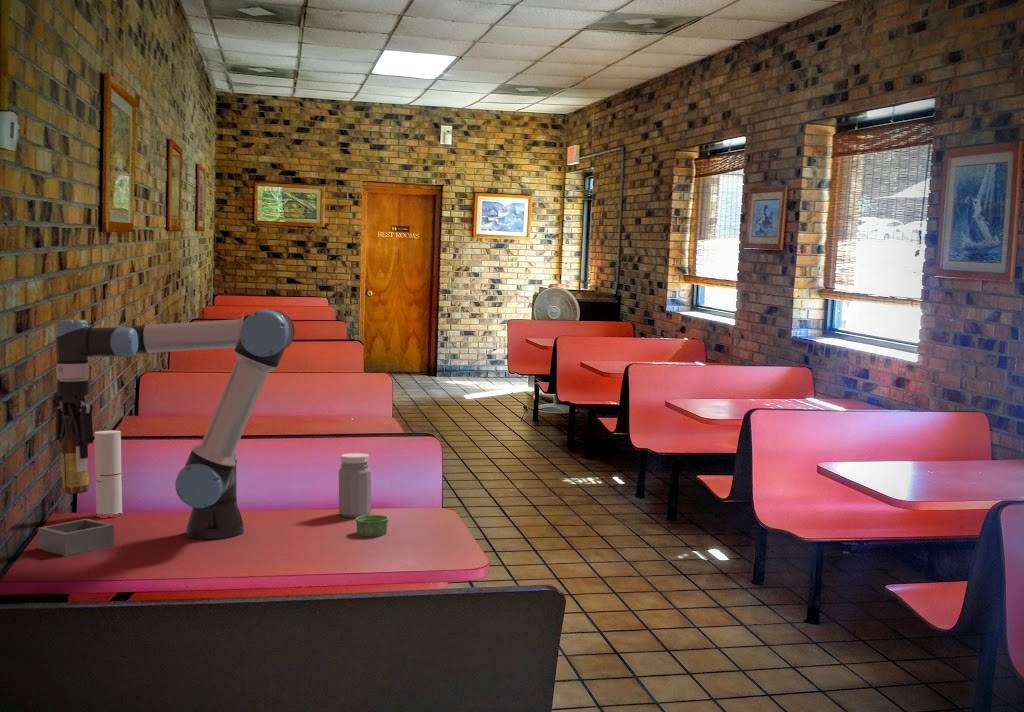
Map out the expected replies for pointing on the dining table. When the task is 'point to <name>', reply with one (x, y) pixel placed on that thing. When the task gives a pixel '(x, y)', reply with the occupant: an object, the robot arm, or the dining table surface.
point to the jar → (354, 485)
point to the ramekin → (372, 525)
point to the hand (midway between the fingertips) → (74, 469)
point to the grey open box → (75, 537)
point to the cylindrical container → (108, 472)
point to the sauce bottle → (71, 462)
